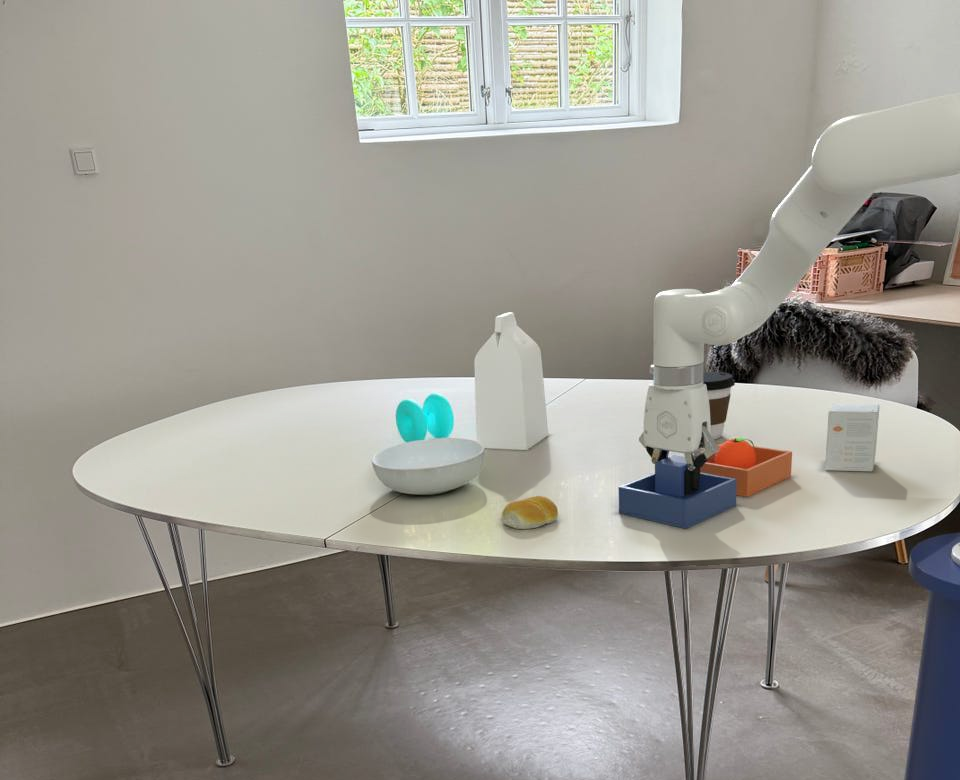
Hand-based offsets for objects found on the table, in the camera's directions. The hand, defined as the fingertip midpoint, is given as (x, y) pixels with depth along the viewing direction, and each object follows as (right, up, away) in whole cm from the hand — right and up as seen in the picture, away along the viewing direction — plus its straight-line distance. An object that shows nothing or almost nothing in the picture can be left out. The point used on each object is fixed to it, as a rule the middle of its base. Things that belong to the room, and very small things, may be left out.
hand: (677, 488), depth 153 cm
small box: (+33, +6, +14) cm, 37 cm away
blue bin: (0, -3, +2) cm, 4 cm away
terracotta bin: (+13, +3, +13) cm, 18 cm away
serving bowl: (-41, +4, +24) cm, 48 cm away
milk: (-25, +18, +50) cm, 59 cm away
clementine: (+13, +4, +12) cm, 18 cm away
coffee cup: (+14, +17, +41) cm, 46 cm away
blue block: (0, 0, 0) cm, 0 cm away
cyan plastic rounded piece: (-44, +19, +56) cm, 73 cm away
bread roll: (-24, -5, +2) cm, 24 cm away
